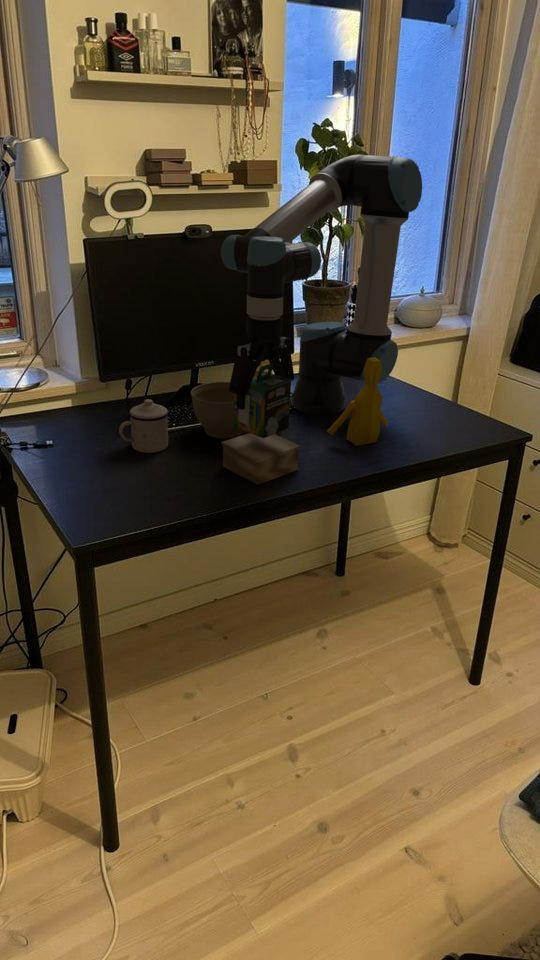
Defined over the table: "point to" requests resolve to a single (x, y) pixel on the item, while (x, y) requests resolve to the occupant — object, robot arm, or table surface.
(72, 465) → the table surface
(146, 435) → the teacup with lid
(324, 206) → the robot arm
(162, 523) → the table surface
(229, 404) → the planter bowl
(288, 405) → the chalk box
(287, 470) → the plinth
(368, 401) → the figure statuette
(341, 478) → the table surface
